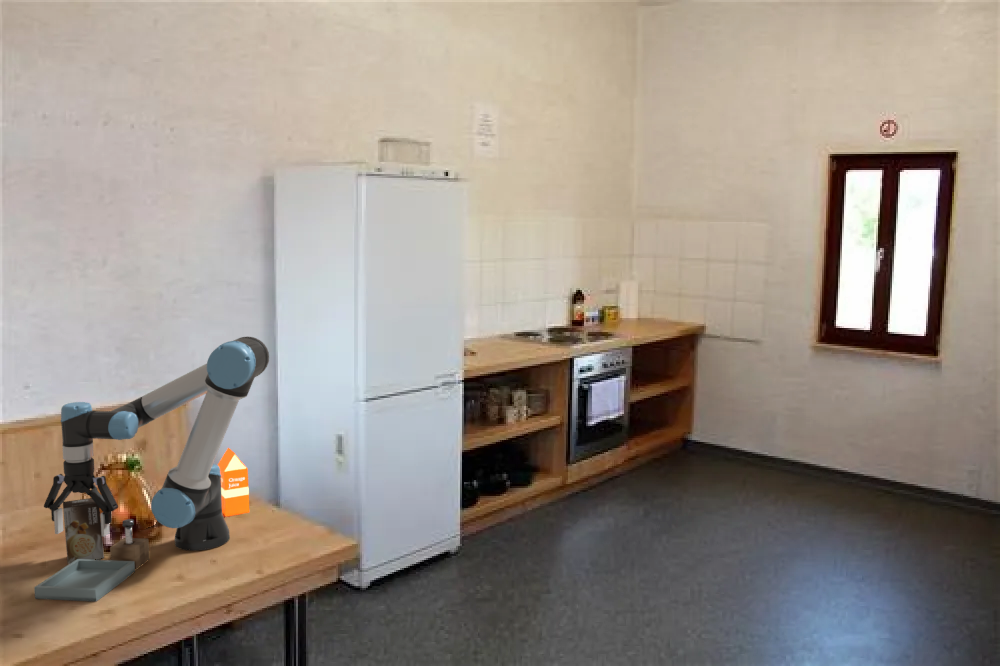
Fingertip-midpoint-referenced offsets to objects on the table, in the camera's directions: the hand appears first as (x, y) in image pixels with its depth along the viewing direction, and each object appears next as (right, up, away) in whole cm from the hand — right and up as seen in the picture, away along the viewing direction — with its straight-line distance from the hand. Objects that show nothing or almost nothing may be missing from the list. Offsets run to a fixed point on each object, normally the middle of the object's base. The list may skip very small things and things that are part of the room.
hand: (82, 533), depth 236 cm
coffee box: (0, -7, +1) cm, 7 cm away
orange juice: (+30, -2, +40) cm, 50 cm away
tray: (+10, -9, -17) cm, 22 cm away
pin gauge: (+15, -7, -4) cm, 17 cm away
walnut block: (+15, -7, -4) cm, 17 cm away
